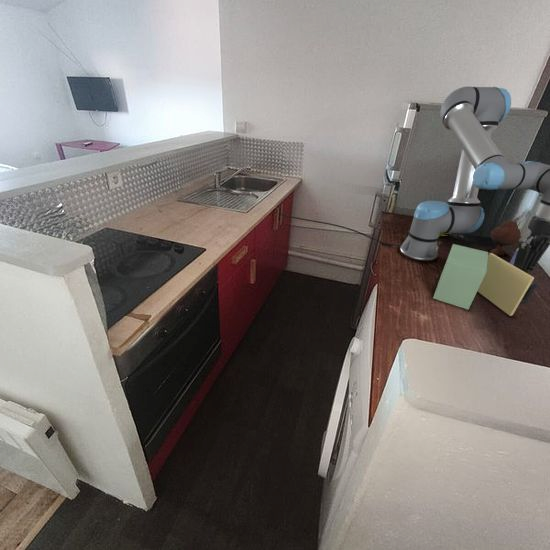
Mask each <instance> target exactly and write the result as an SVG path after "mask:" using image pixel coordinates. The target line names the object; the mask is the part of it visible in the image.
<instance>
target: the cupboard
mask: <svg viewBox="0 0 550 550" xmlns="http://www.w3.org/2000/svg"><path fill="white" fill-rule="evenodd" d="M488 256H489V252H488V251H485V250H480V249H478V248H477V249H476V248H472V247H468V246H465V245H464V246H463V245H460V244H455V243H452V245H451V248H450V251H449V252H448V256H447V259H446V261H445V264H444V265H443V269H442V272H441V274H440V277H439V280H438V282H437V286H436V288H435V291H434V294H433V297H432V299H434V300H437V301H441V302H443V303H446V304H449V305H452V306H456V307H459V308H462V309H465V310H468V311H469V310H470V307H471V305H472V303H473V301H474V299H475V298H476V295H477V293H478V289H479V286H480V284H481V282H482V280H483V278H484V276H485V274H486V272H487V261H488Z"/></svg>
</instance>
